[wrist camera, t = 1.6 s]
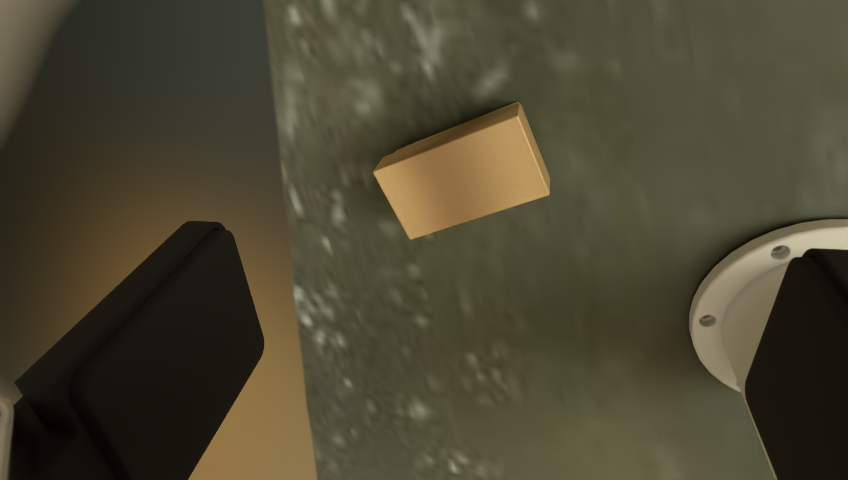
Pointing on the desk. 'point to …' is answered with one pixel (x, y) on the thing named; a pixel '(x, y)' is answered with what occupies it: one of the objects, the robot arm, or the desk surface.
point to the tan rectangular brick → (464, 172)
